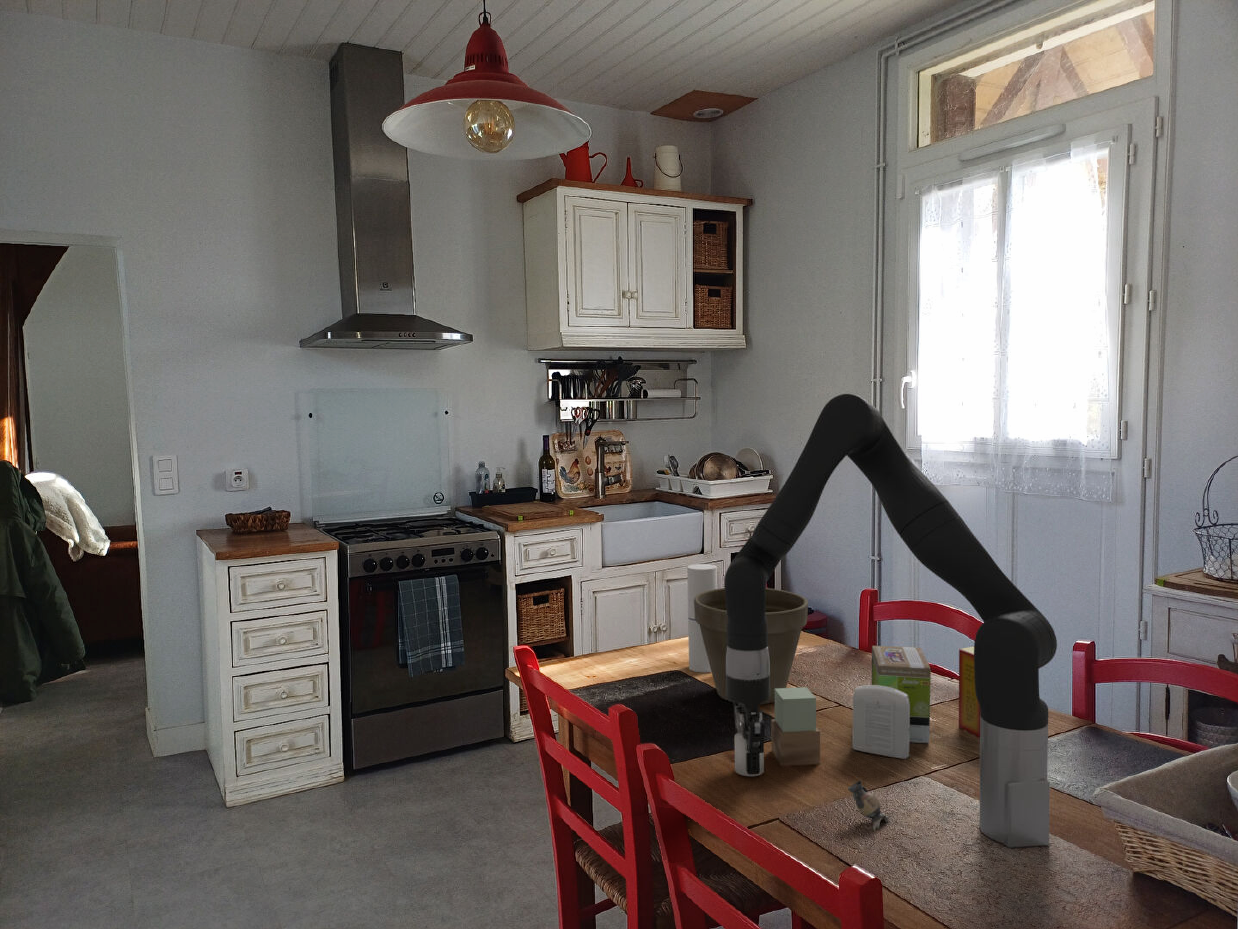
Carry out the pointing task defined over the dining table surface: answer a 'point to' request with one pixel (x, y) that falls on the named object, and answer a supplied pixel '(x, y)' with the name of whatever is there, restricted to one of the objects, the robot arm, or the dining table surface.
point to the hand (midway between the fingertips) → (749, 766)
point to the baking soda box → (968, 693)
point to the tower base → (795, 746)
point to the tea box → (906, 683)
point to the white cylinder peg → (744, 756)
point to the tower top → (795, 709)
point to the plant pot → (783, 633)
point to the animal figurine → (867, 804)
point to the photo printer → (881, 721)
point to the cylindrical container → (698, 582)
